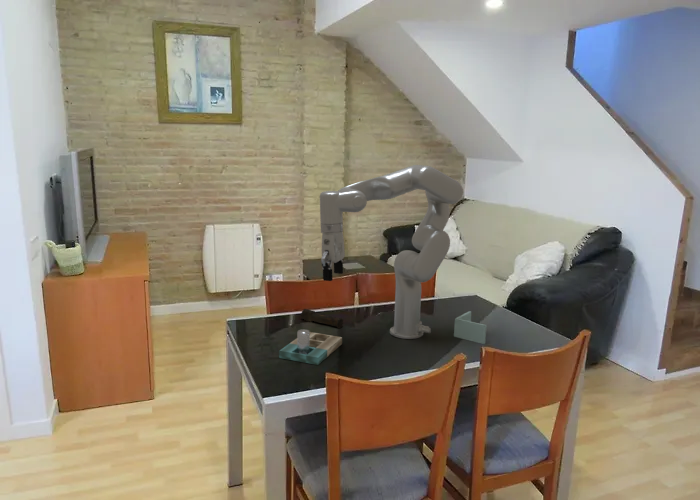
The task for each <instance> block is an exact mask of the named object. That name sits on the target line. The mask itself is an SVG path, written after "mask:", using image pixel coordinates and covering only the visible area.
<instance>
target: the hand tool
mask: <svg viewBox="0 0 700 500" xmlns="http://www.w3.org/2000/svg"><path fill="white" fill-rule="evenodd" d="M300 318H302V319H301V320H303V319H304V320H303V321H305V320H307V321H306V322H309V321H310V322H309V323H313V321H314V322H315V323H319V324H324V325H328V326H331V327H337V329H341V328H342V327H343V324H344V318H343V317H335V316H332V315H325V314H321V313H317V312H316V311H315V310H311V309H307V308H306V309H303V310H301V313H300Z"/></svg>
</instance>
